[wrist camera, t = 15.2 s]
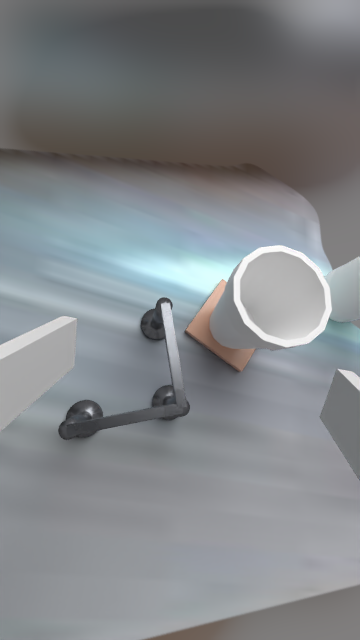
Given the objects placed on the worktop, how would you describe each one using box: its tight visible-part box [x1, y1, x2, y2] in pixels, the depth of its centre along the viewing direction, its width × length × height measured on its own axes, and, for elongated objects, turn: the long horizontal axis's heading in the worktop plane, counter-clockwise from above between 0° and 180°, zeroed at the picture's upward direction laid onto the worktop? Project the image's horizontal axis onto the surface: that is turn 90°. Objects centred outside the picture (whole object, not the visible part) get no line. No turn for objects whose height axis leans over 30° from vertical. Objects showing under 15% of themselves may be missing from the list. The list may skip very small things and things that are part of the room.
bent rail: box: [58, 298, 190, 440], centre depth 29 cm, size 11×18×10 cm, turn 145°
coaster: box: [185, 279, 255, 372], centre depth 37 cm, size 9×9×1 cm
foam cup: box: [209, 245, 332, 351], centre depth 31 cm, size 10×9×13 cm
